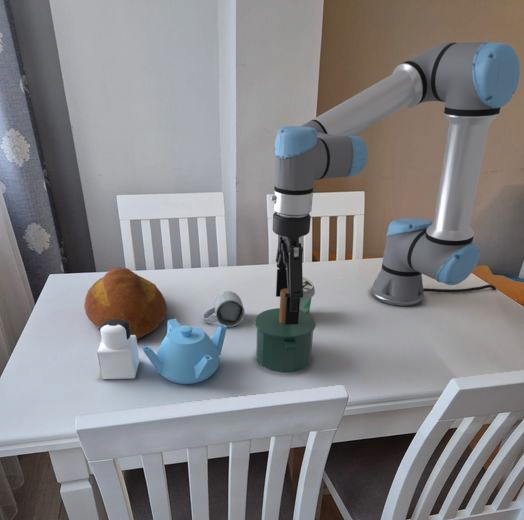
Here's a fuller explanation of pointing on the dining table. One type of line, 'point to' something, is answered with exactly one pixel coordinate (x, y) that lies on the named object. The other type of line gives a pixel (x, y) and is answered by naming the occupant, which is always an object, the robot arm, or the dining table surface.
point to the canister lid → (275, 322)
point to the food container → (306, 295)
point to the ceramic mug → (226, 310)
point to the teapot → (187, 353)
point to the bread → (126, 301)
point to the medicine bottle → (117, 350)
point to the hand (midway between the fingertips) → (286, 309)
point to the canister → (283, 352)
